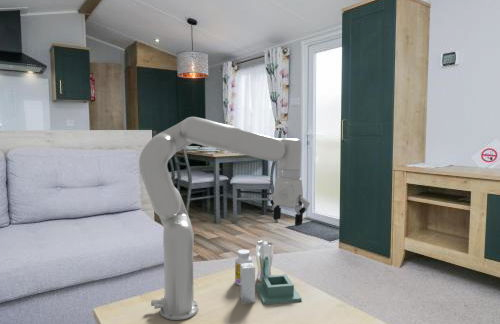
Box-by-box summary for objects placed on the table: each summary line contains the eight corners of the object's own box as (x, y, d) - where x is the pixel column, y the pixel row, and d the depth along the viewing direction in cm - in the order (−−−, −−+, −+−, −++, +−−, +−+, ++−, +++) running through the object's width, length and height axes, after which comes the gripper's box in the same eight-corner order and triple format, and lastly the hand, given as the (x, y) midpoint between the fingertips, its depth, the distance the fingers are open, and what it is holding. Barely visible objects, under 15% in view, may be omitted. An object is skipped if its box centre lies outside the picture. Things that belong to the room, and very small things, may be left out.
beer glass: (271, 283, 142) (272, 246, 141) (254, 281, 144) (254, 245, 142) (273, 276, 149) (274, 241, 147) (257, 274, 150) (257, 239, 149)
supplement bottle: (233, 279, 145) (233, 249, 144) (248, 277, 147) (249, 247, 146) (237, 287, 139) (237, 255, 137) (253, 285, 141) (254, 253, 139)
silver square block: (242, 303, 126) (242, 268, 125) (240, 297, 131) (240, 263, 129) (254, 302, 127) (255, 267, 126) (252, 296, 131) (252, 262, 130)
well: (263, 304, 126) (263, 290, 125) (255, 286, 140) (255, 274, 139) (301, 300, 129) (301, 287, 128) (289, 283, 142) (290, 271, 142)
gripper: (263, 171, 128) (262, 218, 130) (303, 178, 116) (300, 229, 118) (277, 170, 133) (275, 215, 135) (316, 176, 121) (314, 225, 123)
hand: (287, 221), depth 126 cm, fingers open, 9 cm apart
